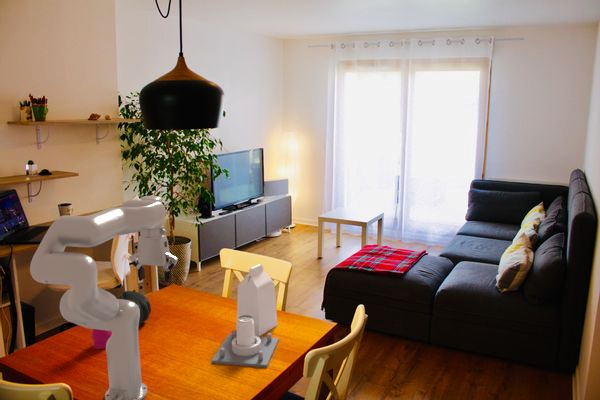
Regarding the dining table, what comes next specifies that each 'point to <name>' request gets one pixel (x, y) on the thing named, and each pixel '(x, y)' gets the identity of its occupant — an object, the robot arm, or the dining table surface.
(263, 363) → the carrier plate
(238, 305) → the milk
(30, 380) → the dining table surface
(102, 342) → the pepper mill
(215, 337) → the dining table surface
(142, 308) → the squash
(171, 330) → the dining table surface
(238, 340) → the can
